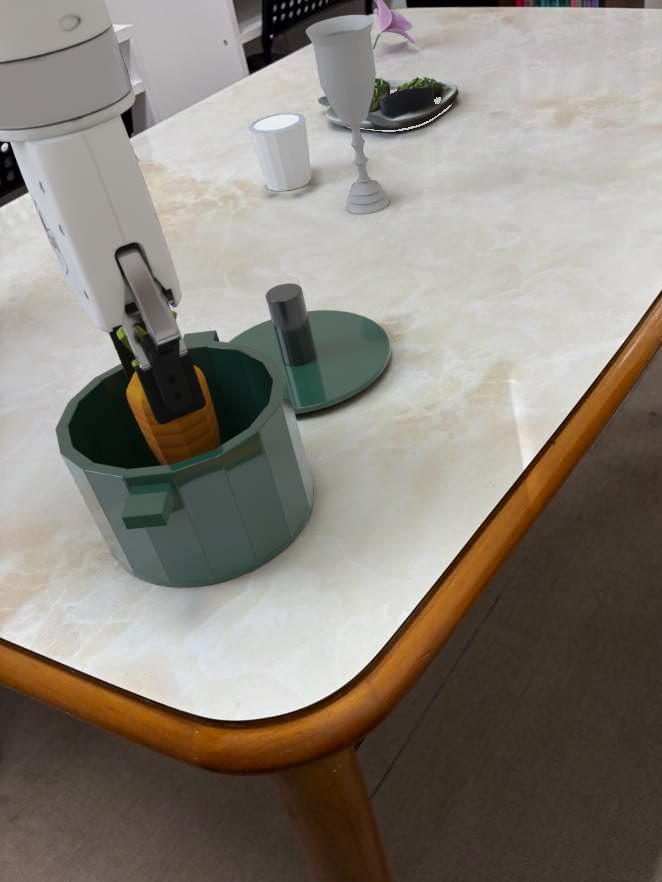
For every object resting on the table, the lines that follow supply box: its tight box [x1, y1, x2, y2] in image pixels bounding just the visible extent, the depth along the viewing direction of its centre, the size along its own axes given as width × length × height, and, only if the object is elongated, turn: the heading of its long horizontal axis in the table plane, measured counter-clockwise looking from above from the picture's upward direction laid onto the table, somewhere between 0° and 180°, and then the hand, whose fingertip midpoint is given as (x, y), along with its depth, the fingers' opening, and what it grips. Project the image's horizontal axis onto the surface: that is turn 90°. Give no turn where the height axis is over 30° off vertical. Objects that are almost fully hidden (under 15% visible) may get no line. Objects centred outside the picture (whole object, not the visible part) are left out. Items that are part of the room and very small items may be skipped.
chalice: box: [305, 14, 390, 215], centre depth 91 cm, size 7×7×18 cm
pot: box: [55, 330, 314, 588], centre depth 58 cm, size 15×20×10 cm
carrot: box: [117, 310, 221, 465], centre depth 56 cm, size 5×5×15 cm
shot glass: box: [247, 112, 313, 192], centre depth 103 cm, size 7×7×7 cm
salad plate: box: [317, 76, 460, 134], centre depth 118 cm, size 19×18×5 cm
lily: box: [372, 0, 420, 51], centre depth 139 cm, size 12×12×10 cm
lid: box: [228, 282, 392, 415], centre depth 71 cm, size 16×16×7 cm
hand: (166, 391), depth 54 cm, fingers closed on carrot, 4 cm apart
